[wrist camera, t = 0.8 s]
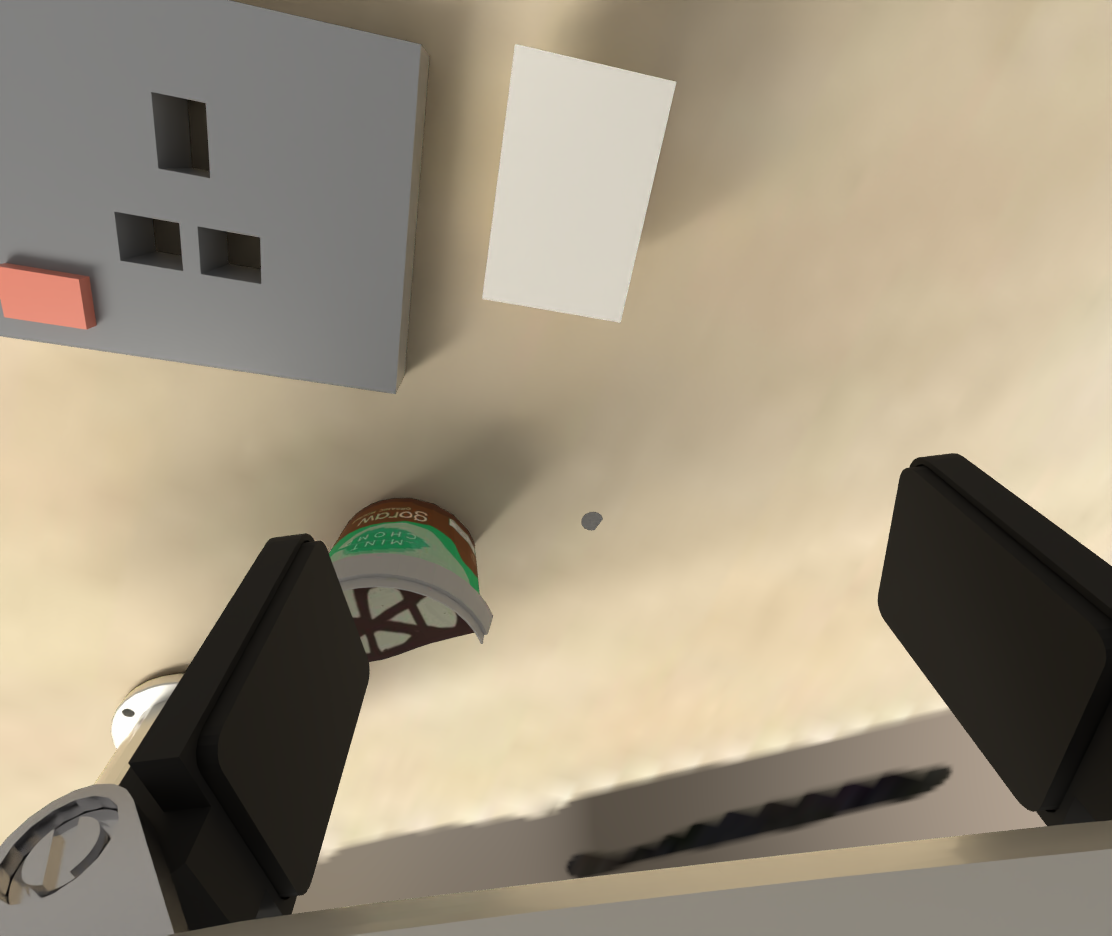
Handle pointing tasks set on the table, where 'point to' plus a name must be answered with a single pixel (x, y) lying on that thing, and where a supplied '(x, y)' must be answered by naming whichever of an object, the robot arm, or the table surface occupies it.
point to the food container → (409, 577)
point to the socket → (210, 186)
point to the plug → (573, 183)
